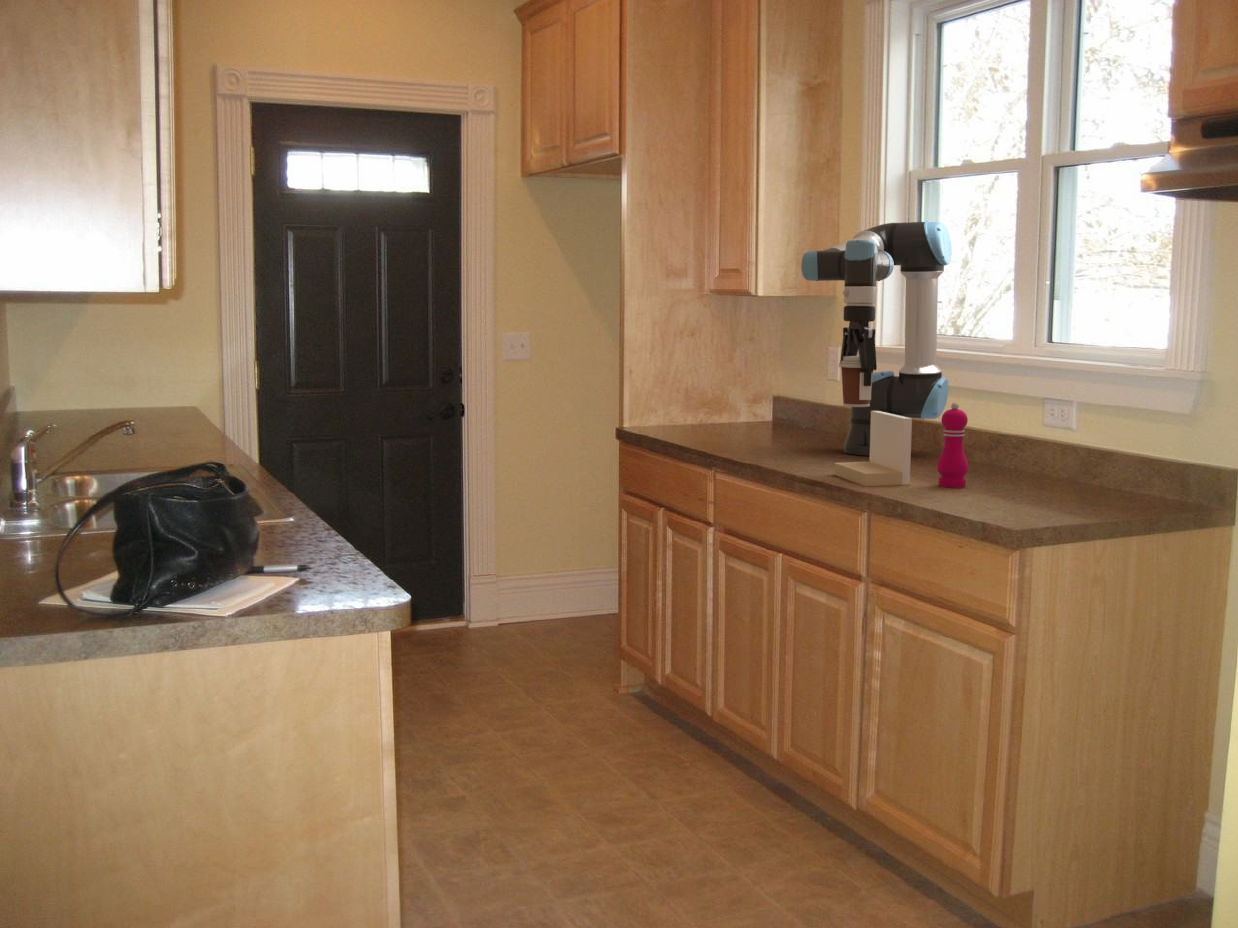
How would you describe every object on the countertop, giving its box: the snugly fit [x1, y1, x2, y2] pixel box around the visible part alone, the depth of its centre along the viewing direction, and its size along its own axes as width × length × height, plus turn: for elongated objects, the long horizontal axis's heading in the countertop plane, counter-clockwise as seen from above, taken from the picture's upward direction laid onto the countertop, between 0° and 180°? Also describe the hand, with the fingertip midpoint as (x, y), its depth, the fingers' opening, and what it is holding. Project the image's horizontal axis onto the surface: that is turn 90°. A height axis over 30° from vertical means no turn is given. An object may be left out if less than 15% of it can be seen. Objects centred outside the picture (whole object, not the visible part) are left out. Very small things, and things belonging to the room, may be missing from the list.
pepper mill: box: [936, 402, 969, 489], centre depth 293 cm, size 7×7×20 cm
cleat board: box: [833, 411, 913, 487], centre depth 303 cm, size 12×19×16 cm, turn 13°
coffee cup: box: [838, 355, 874, 408], centre depth 300 cm, size 9×9×12 cm
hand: (856, 398), depth 300 cm, fingers closed on coffee cup, 9 cm apart
